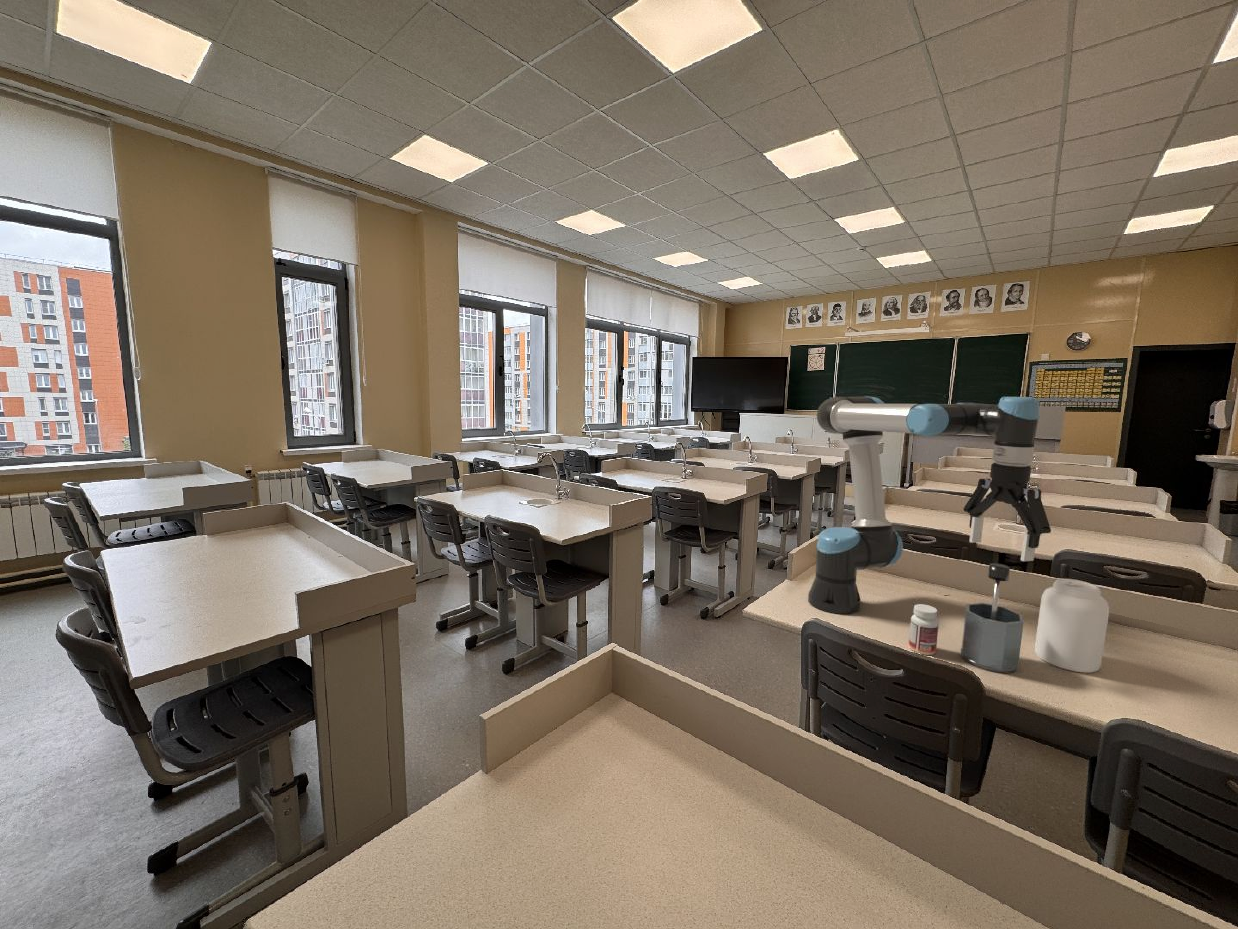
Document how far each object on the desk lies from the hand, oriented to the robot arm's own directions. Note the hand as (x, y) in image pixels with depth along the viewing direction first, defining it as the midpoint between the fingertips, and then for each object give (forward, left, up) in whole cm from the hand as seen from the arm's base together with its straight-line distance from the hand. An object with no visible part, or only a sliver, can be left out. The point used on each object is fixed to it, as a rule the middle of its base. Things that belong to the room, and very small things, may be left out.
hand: (999, 550), depth 125 cm
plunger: (0, 0, -27) cm, 27 cm away
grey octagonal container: (0, +1, -28) cm, 28 cm away
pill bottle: (-8, -12, -28) cm, 32 cm away
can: (+4, +19, -28) cm, 34 cm away
